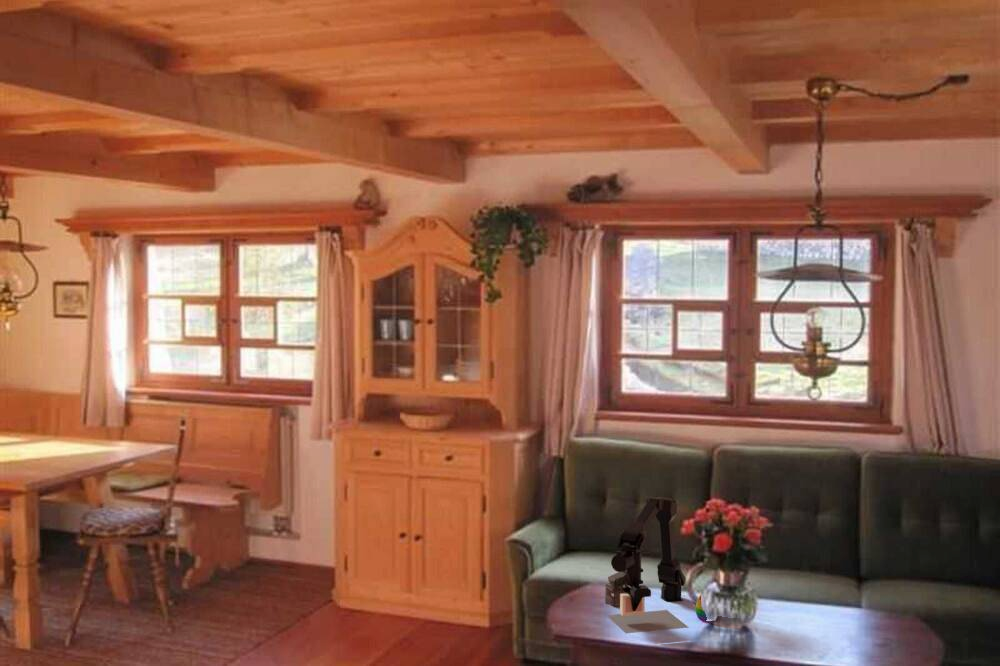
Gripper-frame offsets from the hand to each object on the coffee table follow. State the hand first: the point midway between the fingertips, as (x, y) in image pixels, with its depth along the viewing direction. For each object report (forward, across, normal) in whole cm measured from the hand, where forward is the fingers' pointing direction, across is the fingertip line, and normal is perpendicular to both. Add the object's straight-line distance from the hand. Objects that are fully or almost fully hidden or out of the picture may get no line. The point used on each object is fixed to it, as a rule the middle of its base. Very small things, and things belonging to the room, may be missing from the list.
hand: (632, 609), depth 333 cm
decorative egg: (+5, +3, +27) cm, 28 cm away
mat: (+5, 0, +5) cm, 7 cm away
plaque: (+2, 0, 0) cm, 2 cm away
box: (+5, -20, +2) cm, 21 cm away
